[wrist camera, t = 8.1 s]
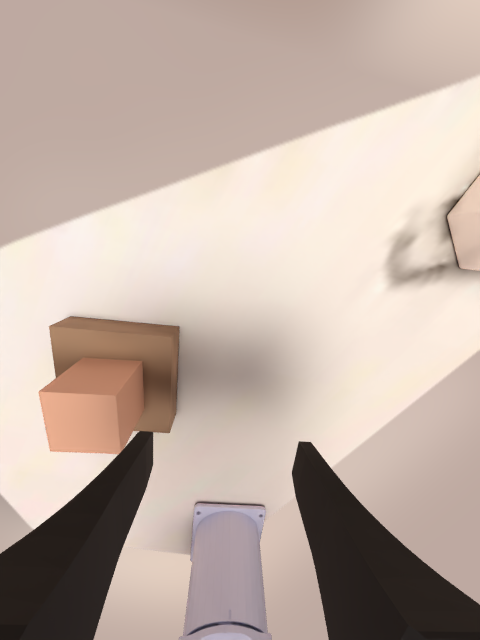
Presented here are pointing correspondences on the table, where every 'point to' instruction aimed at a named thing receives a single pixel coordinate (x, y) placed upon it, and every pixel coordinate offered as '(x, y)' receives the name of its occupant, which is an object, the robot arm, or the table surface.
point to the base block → (126, 344)
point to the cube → (93, 406)
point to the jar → (467, 228)
